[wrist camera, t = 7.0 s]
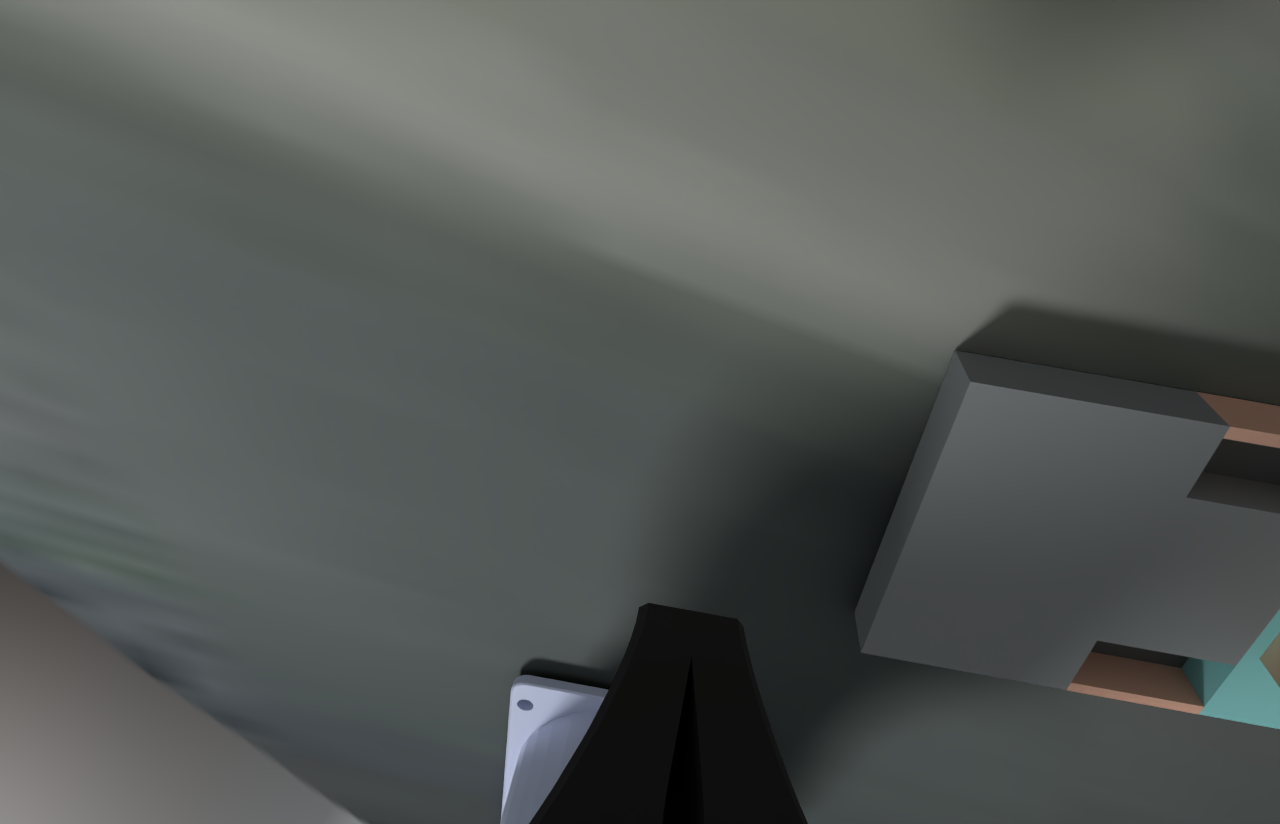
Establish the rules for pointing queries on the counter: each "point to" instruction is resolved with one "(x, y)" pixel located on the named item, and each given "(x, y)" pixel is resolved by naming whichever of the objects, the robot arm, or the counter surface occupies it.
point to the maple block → (1273, 659)
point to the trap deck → (1087, 540)
